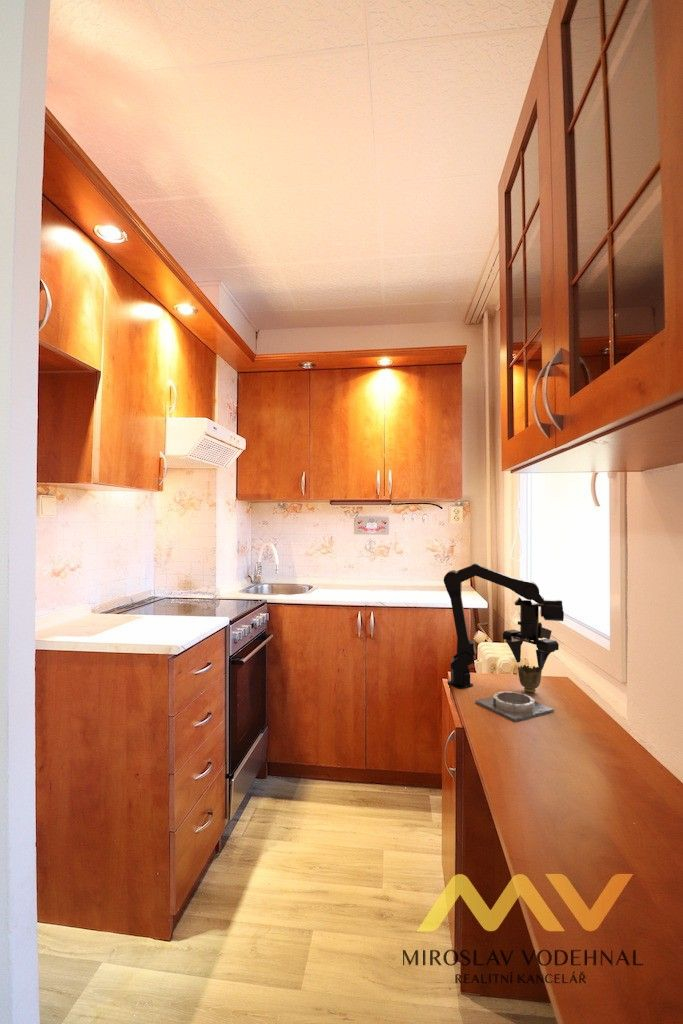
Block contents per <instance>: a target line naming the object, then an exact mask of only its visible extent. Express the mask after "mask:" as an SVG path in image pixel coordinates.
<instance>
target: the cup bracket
mask: <svg viewBox="0 0 683 1024" xmlns="http://www.w3.org/2000/svg"><path fill="white" fill-rule="evenodd" d="M474 701H475V704H477V705H479V706H480V707H483V708H485V709H487V710H490V712H491V711H492V712H493V713H496V714H497V715H500V716H502V717H504V718H506V719H508V720H510V721H512V722H514V723H518V722H521V721H524V720H529V719H533V718H536V717H540V716H544V715H547V714H551V713H554V712H555V709H554V708H552V707H550V706H547V705H545V704H542V703H541V702H538V701H535V699H534V698H533V697H532V696H530V695H528V694H527V693H526V694H525V693H522V692H518V691H509V690H507V691H499V692H495V693H494V694H493V696H489V697H485V698H480V699H476V700H474Z"/></svg>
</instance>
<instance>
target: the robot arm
mask: <svg viewBox="0 0 683 1024" xmlns="http://www.w3.org/2000/svg"><path fill="white" fill-rule="evenodd" d="M473 577H478V578H481V579H483V580H486V581H489V582H491V583H493V584H497V585H498V586H501V587H503V588H506V589H509V590H510V591H512V592H513V593H515V594H516V595H518V596H519V597H518V598H517V599H516V600H515V601H513V602H514V605H515V606H520V607H519V609H520V610H519V611H520V612H519V613H520V614H519V615H520V620H519V621H517V625H519V626H520V627H519V628H520V629H519V630H516V629H509V630H508V629H507V630H504V631H503V633H502V639H503V640H505V643H506V644H507V645H508V646H509V648H510V651H511V653H512V654H513V656H514V658H515V660H516V663H521V659H522V658H521V657H522V656H521V655H522V652H521V651H522V645H523V642H525V643H528V644H532V645H535V647H536V649H535V653H536V659H537V661H536V662H537V667H539V670H542V671H543V669H544V666H545V664H546V662H547V659H548V657H549V656H550V654H551V653H554V652H555V651H559V647H560V646H559V642H558V641H557V640H553V639H551V637H552V630H550V629H549V628H545V627H543V624H542V622H539V619H540V618H539V615H540V617H541V618H543V619H544V621H550V622H551V621H553V622H556V621H557V622H564V619H565V617H564V615H565V612H564V606H563V600H562V599H555V600H554V599H553V600H552V599H545V598H544V597H543V596H542V595H541V594H540V588H539V586H538V584H536V582H534V581H533V580H529V579H524V578H517V577H512V576H509V575H508V574H503V573H500V572H498V571H495V570H494V569H491V568H488V567H485V566H482V565H480V564H479V563H473V564H471V565H469V566H466V567H463V568H462V569H458V570H453V569H452V570H448V571H447V572H446V574H444V577H443V583H444V587H445V589H446V591H447V595H448V596H449V599H450V604H451V608H452V609H451V610H452V616H453V621H454V626H455V627H454V628H455V633H456V637H457V638H456V639H457V640H456V654H455V655H453V656H452V658H451V661H450V680H448V681H447V682H446V684H449V685H451V686H452V687H455V688H457V689H465V688H469V687H474V684H473V683H471V671H470V670H471V669H470V667H469V666H470V665H472V664H473V663H474V660H475V656H477V649H476V646H475V644H476V643H475V639H471V638H470V636H469V632H468V627H467V621H466V616H465V610H464V609H465V608H464V605H463V598H462V591H463V590H462V585H463V582H465V581H467V580H469V579H472V578H473ZM521 597H522V598H523V599H522V598H521ZM532 601H534V602H535V603H534V602H532ZM539 609H540V610H539ZM539 612H540V613H539Z"/></svg>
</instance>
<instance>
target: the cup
mask: <svg viewBox="0 0 683 1024" xmlns="http://www.w3.org/2000/svg"><path fill="white" fill-rule="evenodd" d="M517 671H518V679H519V683H520V685H521V687H523V690H524V692H525V693H526V694H535V693H536V691H537V690H536V689H537V688H539V687H540V684H541V680H542V673H543V672H542V671H543V669H542V670H539V667H538V666H535V665H533V666H532V667H530V666H529V665H526V664H523V665H520V666H517Z"/></svg>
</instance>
